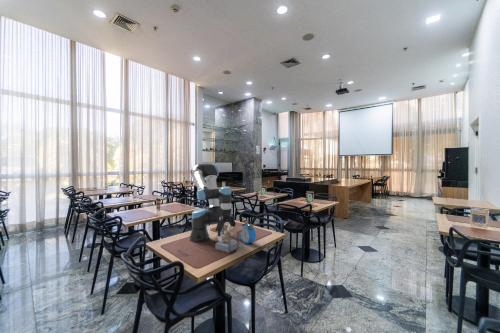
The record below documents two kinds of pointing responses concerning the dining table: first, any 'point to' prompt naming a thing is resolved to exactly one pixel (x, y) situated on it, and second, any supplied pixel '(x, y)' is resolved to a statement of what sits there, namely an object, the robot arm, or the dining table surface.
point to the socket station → (229, 241)
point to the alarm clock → (247, 233)
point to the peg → (225, 237)
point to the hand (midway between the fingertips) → (226, 237)
